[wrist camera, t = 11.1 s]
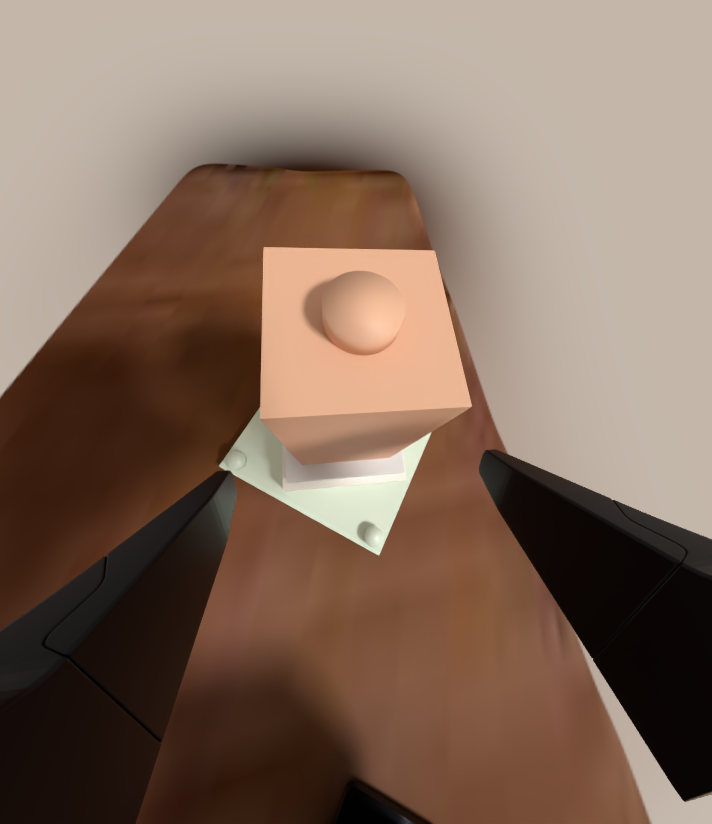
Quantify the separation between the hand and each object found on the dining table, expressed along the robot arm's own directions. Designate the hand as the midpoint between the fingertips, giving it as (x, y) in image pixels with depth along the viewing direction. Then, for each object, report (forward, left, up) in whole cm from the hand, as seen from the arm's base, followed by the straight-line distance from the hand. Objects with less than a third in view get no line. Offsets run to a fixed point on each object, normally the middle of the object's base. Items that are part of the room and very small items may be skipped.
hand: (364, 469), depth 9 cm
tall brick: (+2, -4, -8) cm, 10 cm away
